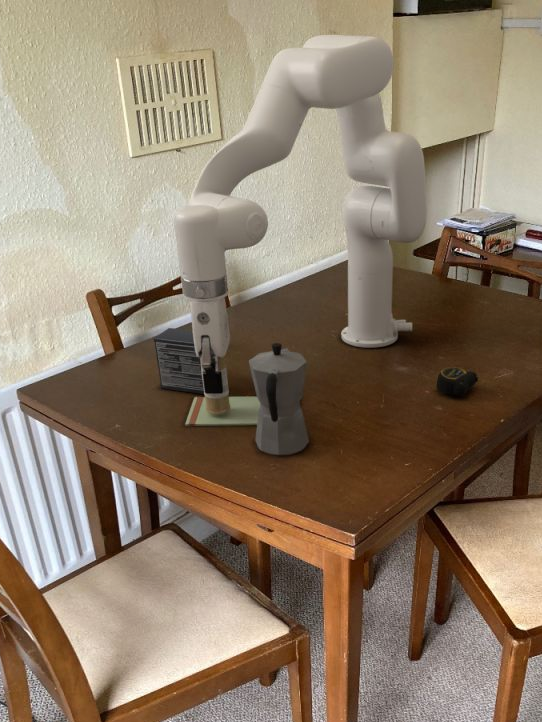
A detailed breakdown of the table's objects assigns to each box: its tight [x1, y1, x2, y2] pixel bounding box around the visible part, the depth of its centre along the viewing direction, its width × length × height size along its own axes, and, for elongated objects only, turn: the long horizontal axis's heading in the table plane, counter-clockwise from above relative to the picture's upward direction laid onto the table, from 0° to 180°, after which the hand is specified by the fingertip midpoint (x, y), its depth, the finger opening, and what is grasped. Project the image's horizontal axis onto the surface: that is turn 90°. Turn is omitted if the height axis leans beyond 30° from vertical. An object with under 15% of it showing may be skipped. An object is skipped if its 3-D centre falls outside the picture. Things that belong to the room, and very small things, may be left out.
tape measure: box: [436, 366, 479, 397], centre depth 147 cm, size 7×7×4 cm
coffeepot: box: [248, 342, 310, 456], centre depth 126 cm, size 15×9×18 cm, turn 176°
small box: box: [153, 327, 204, 395], centre depth 149 cm, size 11×6×10 cm, turn 71°
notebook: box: [184, 395, 260, 427], centre depth 142 cm, size 20×11×1 cm, turn 90°
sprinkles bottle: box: [200, 352, 230, 415], centre depth 136 cm, size 5×5×13 cm
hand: (215, 385), depth 138 cm, fingers closed on sprinkles bottle, 4 cm apart
